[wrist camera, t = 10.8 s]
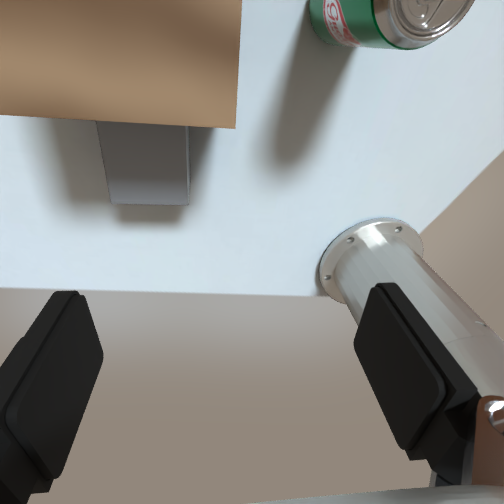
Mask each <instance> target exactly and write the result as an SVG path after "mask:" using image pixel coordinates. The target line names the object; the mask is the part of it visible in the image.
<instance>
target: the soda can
mask: <svg viewBox="0 0 504 504" xmlns="http://www.w3.org/2000/svg"><path fill="white" fill-rule="evenodd" d="M474 1H475V0H310V4H309V13H310V20H311V24H312V26H313V29H314V31H315V32H316V34H317V35H318V36H319V38H320V39H322V40H323V41H324V42H326V43H328V44H331V45H337V46H352V47H367V48H383V49H398V50H414V49H418V48H422V47H424V46H426V45H428V44H431V43H432V42H434V41H435V40H437V39H438V38H439V37H441V36H442V35H444V34H445V33H447V32H448V31H450V30H451V29H452V28H453V27H455V26H456V25H457V24H458V23H459V22H460V21H461V20H462V19H463V17H464V16H465V15H466V13H467V12H468V11H469V9H470V7H471V6H472V4H473V3H474Z"/></svg>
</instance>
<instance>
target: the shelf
mask: <svg viewBox="0 0 504 504" xmlns="http://www.w3.org/2000/svg"><path fill="white" fill-rule="evenodd" d="M241 10H242V0H0V115H13V116H30V117H46V118H63V119H80V120H97V121H114V122H130V123H147V124H164V125H181V126H198V127H214V128H231V129H235V124H236V105H237V86H238V67H239V48H240V29H241Z"/></svg>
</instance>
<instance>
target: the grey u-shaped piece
mask: <svg viewBox="0 0 504 504" xmlns="http://www.w3.org/2000/svg"><path fill="white" fill-rule="evenodd" d="M96 124H97V130H98V135H99V140H100V146H101V151H102V157H103V162H104V167H105V173H106V178H107V183H108V189H109V194H110V200H111V204H154V205H188V201H189V190H190V156H189V126H181V125H164V124H147V123H130V122H114V121H97V120H96Z"/></svg>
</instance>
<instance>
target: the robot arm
mask: <svg viewBox="0 0 504 504" xmlns="http://www.w3.org/2000/svg"><path fill="white" fill-rule="evenodd" d="M422 258H423V242H422V240H421V238H420V236H419V234H418V233H417V232H416V231H415V230H414V229H413V228H412V227H411V226H410V225H409V224H407V223H405V222H403V221H401V220H397V219H393V218H378V219H371V220H368V221H365V222H361V223H359V224H357V225H355V226H353V227H351V228H349V229H348V230H346V231H345V232H343V233H342V234H341V235H340V236H338V237H337V238H336V239H335V240H334V241H333V242H332V243H331V245H330V246H329V247H328V248H327V250H326V252H325V254H324V255H323V257H322V260H321V263H320V269H319V276H320V281H321V283H322V286H323V288H324V290H325V291H326V293H327V294H328V295H329V296H330V297H331V298H332V299H334V300H336V301H337V302H340V303H343V304H347V306H348V308H349V310H350V312H351V314H352V316H353V317H354V319H355V321H356V323H357V325H358V329H357V333H356V336H355V338H354V349H355V352H356V354H357V356H358V358H359V361H360V363H361V365H362V367H363V369H364V372H365V374H366V376H367V378H368V380H369V383H370V385H371V387H372V389H373V391H374V394H375V396H376V398H377V400H378V402H379V405H380V407H381V409H382V411H383V413H384V415H385V417H386V420H387V422H388V424H389V426H390V429H391V431H392V433H393V435H394V437H395V440H396V442H397V444H398V446H399V447H400V448H401V449H403V450H405V451H406V453H407V456H408V458H409V460H423V459H427V461H428V463H429V465H430V467H431V469H432V471H431V477H430V483H429V487H426V488H412V489H399V490H387V491H377V492H366V493H355V494H344V495H333V496H322V497H312V498H301V499H290V500H280V501H270V502H259V503H249V504H504V341H503V340H502V339H501V338H500V337H499V336H498V335H497V334H496V333H495V332H494V331H493V330H492V329H491V328H490V327H489V326H488V325H487V324H486V323H485V321H484V320H483V319H481V318H480V316H479V315H478V314H477V313H476V312H475V311H474V310H473V309H472V308H471V307H470V306H469V305H468V304H467V303H466V302H465V301H464V300H463V299H462V298H461V297H460V296H459V295H458V294H457V293H456V292H455V291H454V290H453V289H452V288H451V287H450V286H449V285H448V284H447V283H446V282H445V281H444V280H443V279H442V278H441V277H440V276H439V275H438V274H437V273H436V272H435V271H434V270H433V269H432V268H431V267H430V266H429V265H428V264H427V263H426V262H425V261H424V260H423V259H422ZM102 362H103V350H102V347H101V344H100V341H99V338H98V335H97V332H96V329H95V326H94V322H93V320H92V316H91V313H90V310H89V307H88V304H87V301H86V298H85V296H84V295H80V294H79V293H78V292H77V291H56V292H54V293H53V294H52V296H51V297H50V299H49V300H48V302H47V303H46V305H45V306H44V308H43V309H42V311H41V312H40V314H39V315H38V316H37V318H36V319H35V321H34V322H33V324H32V325H31V327H30V328H29V330H28V331H27V333H26V334H25V336H24V337H22V338H21V339H20V340H19V341H18V342H17V344H16V345H15V347H14V348H13V350H12V351H11V353H10V354H9V355H8V357H7V358H6V360H5V361H4V363H3V364H2V366H1V367H0V504H27V502H28V500H29V497H30V495H31V494H34V493H45V492H49V490H50V488H51V485H52V482H53V480H54V479H56V478H58V477H59V476H60V475H61V473H62V471H63V469H64V466H65V463H66V460H67V458H68V455H69V452H70V450H71V447H72V444H73V441H74V439H75V436H76V433H77V431H78V427H79V425H80V422H81V420H82V417H83V414H84V412H85V409H86V406H87V403H88V401H89V398H90V395H91V393H92V390H93V387H94V384H95V382H96V379H97V376H98V374H99V371H100V368H101V365H102Z"/></svg>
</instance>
